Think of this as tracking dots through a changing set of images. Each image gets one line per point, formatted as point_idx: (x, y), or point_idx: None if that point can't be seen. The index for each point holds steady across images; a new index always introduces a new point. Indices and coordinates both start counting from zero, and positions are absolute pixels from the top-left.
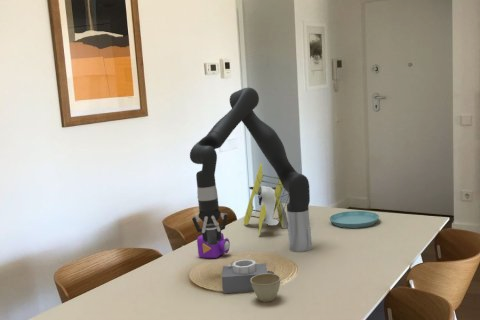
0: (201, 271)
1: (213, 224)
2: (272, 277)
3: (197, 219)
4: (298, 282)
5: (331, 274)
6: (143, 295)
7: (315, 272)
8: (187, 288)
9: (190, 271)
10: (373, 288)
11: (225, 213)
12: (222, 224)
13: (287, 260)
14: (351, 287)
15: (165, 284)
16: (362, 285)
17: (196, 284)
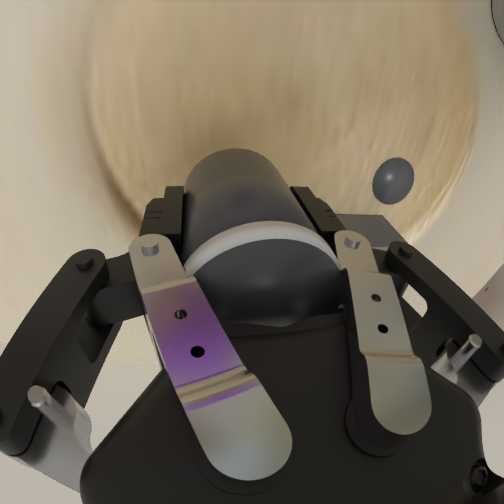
0: (142, 70)
1: (310, 287)
2: None
3: (79, 436)
4: (424, 252)
5: (482, 223)
6: (11, 275)
7: (474, 204)
8: (115, 247)
9: (90, 65)
10: (475, 287)
11: (498, 381)
12: (406, 281)
13: (471, 87)
14: (463, 282)
15: (29, 204)
16: (475, 276)
17: (139, 218)
